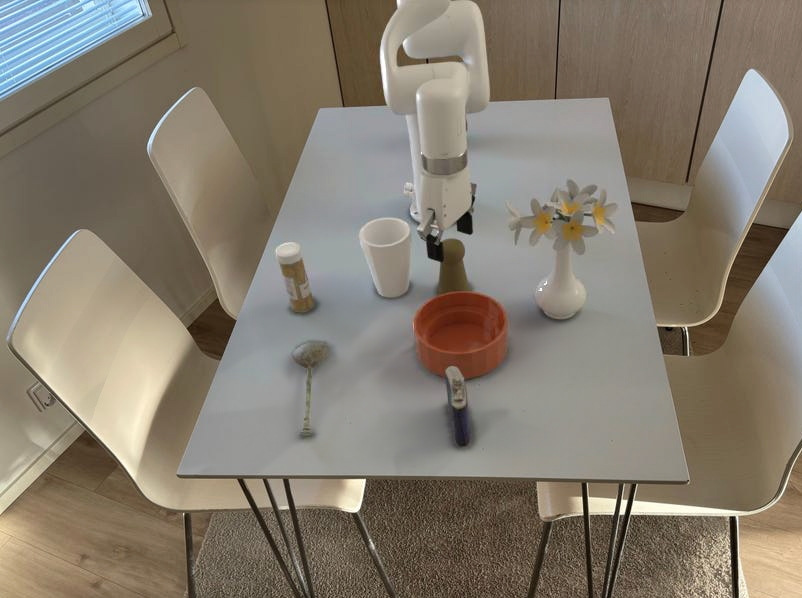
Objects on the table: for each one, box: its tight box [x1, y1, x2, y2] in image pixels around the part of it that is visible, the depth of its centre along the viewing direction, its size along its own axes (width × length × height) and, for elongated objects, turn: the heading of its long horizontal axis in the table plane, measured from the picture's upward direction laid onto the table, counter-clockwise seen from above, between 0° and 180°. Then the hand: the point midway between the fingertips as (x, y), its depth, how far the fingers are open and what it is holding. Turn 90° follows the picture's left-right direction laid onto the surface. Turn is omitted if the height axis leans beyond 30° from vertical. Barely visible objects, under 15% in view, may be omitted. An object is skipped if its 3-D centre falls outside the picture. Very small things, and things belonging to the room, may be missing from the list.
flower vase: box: [505, 178, 619, 320], centre depth 119 cm, size 13×18×25 cm
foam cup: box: [358, 216, 412, 299], centre depth 131 cm, size 10×9×13 cm
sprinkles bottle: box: [275, 241, 315, 314], centre depth 129 cm, size 5×5×14 cm
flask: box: [444, 366, 472, 448], centre depth 106 cm, size 9×3×11 cm, turn 8°
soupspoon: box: [291, 341, 330, 437], centre depth 117 cm, size 22×3×7 cm
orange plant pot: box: [412, 290, 509, 379], centre depth 120 cm, size 16×16×6 cm
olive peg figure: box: [437, 237, 470, 295], centre depth 130 cm, size 6×6×11 cm
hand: (450, 245), depth 126 cm, fingers open, 9 cm apart
